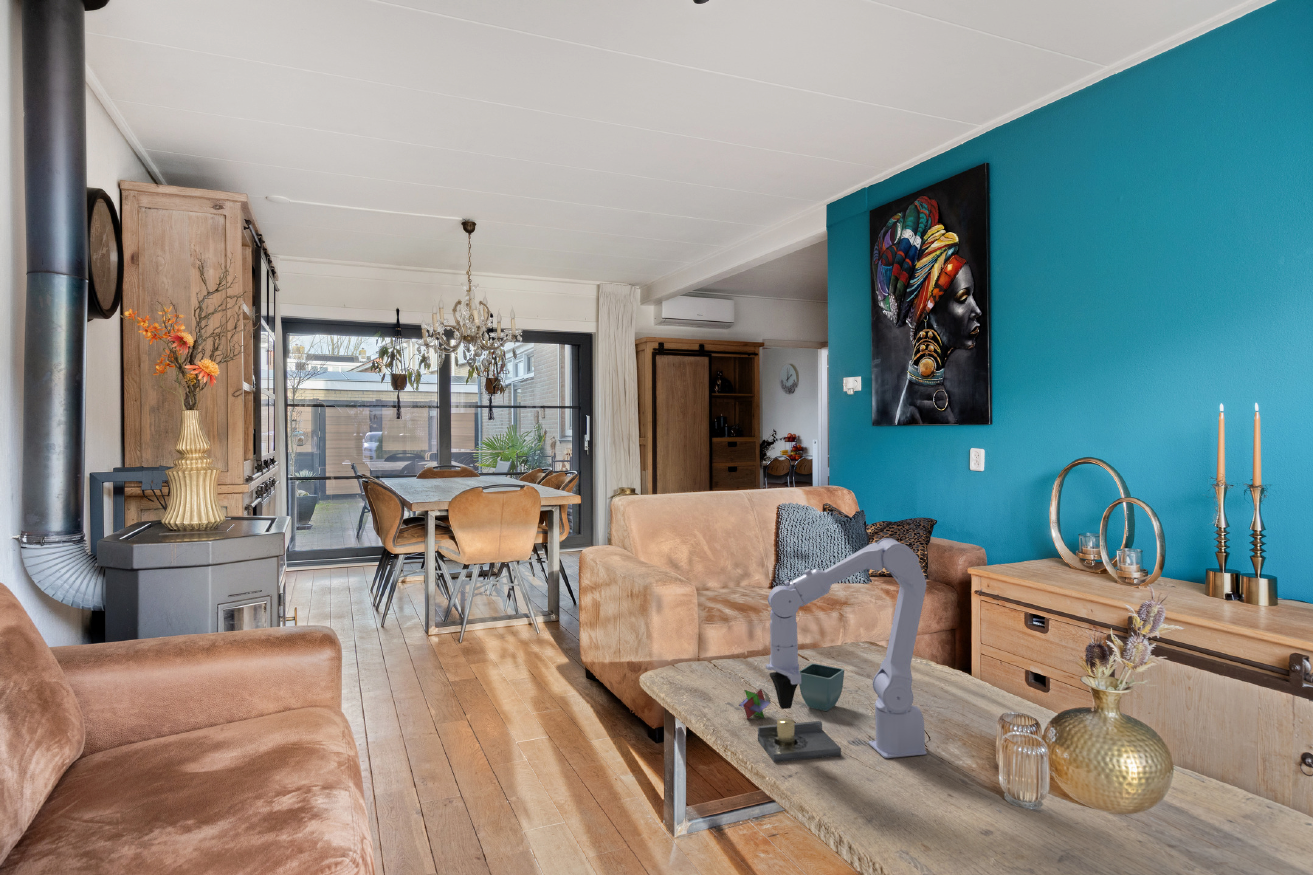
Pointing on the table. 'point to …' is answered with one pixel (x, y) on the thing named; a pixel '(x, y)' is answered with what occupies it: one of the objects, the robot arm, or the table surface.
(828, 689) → the flower pot
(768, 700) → the geometric puzzle
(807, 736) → the jig
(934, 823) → the table surface
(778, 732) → the brass cylinder plug
